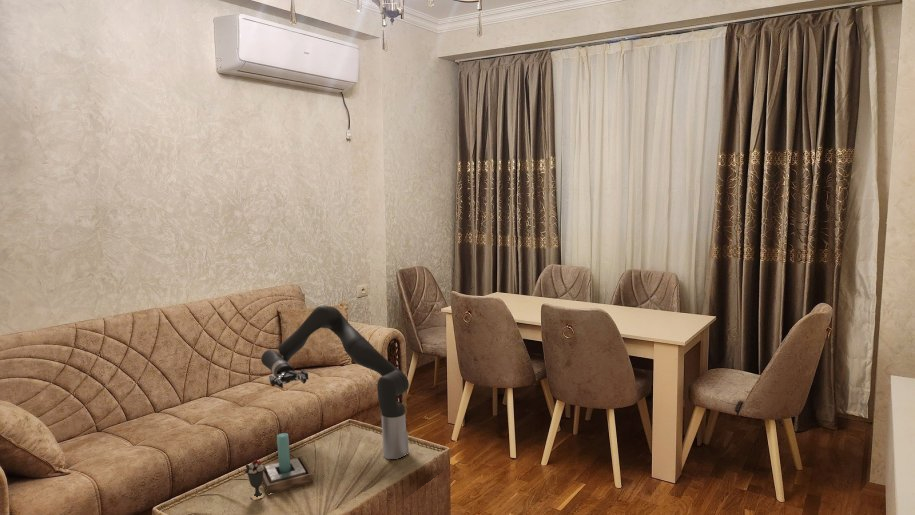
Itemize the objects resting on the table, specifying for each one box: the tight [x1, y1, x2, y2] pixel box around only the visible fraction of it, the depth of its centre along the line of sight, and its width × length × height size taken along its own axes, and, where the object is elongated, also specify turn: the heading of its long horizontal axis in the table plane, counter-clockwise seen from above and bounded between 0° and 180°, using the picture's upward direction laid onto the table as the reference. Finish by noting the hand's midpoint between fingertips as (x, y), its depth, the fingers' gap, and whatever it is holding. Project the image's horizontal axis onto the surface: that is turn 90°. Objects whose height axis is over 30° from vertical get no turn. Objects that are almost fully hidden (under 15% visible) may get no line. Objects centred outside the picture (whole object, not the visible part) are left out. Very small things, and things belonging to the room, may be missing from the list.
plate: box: [265, 457, 306, 484], centre depth 230 cm, size 12×12×3 cm
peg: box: [276, 432, 291, 474], centre depth 229 cm, size 4×4×16 cm
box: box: [262, 455, 314, 495], centre depth 230 cm, size 16×16×4 cm
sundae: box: [244, 454, 266, 497], centre depth 218 cm, size 7×7×15 cm
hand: (293, 383), depth 239 cm, fingers open, 8 cm apart
